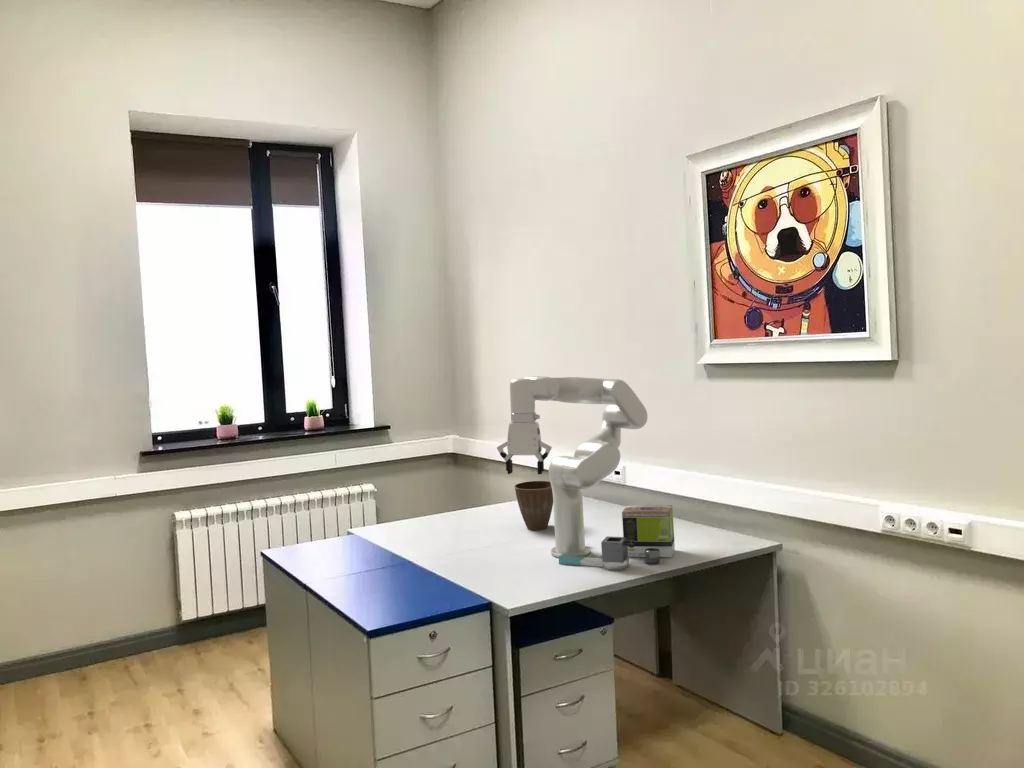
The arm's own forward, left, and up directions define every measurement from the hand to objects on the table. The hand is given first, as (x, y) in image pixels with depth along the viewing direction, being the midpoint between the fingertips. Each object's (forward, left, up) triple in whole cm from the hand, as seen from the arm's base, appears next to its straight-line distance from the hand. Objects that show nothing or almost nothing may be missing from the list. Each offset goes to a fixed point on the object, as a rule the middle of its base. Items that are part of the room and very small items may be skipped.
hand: (525, 473), depth 259 cm
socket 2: (-8, +37, -29) cm, 47 cm away
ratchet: (-3, +20, -29) cm, 35 cm away
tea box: (-18, +34, -29) cm, 48 cm away
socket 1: (-2, +27, -26) cm, 38 cm away
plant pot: (-44, -13, -29) cm, 54 cm away
